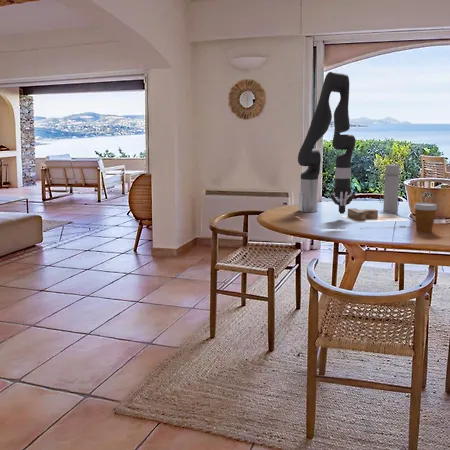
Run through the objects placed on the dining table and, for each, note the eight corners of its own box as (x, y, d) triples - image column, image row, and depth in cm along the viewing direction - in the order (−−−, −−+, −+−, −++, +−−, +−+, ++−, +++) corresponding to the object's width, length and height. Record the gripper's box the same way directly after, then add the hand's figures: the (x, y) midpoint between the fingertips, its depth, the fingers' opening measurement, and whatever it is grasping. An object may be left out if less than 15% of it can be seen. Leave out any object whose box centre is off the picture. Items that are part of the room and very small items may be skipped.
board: (354, 225, 254) (354, 222, 254) (338, 217, 274) (338, 215, 273) (410, 223, 259) (410, 220, 259) (390, 216, 278) (391, 213, 278)
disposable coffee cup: (409, 229, 244) (410, 202, 242) (429, 228, 245) (431, 202, 243) (418, 233, 235) (419, 205, 233) (439, 233, 236) (441, 205, 233)
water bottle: (397, 211, 292) (400, 164, 287) (397, 214, 285) (399, 165, 280) (379, 210, 295) (382, 164, 290) (378, 213, 288) (381, 165, 283)
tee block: (357, 220, 258) (357, 212, 258) (347, 216, 270) (347, 208, 269) (381, 220, 260) (381, 211, 260) (370, 215, 272) (370, 207, 271)
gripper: (352, 176, 264) (351, 211, 267) (326, 176, 262) (325, 212, 265) (359, 177, 257) (358, 214, 260) (332, 178, 255) (331, 215, 258)
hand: (341, 213), depth 263 cm, fingers closed
